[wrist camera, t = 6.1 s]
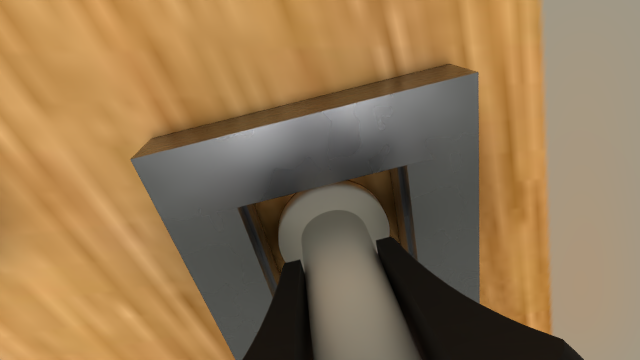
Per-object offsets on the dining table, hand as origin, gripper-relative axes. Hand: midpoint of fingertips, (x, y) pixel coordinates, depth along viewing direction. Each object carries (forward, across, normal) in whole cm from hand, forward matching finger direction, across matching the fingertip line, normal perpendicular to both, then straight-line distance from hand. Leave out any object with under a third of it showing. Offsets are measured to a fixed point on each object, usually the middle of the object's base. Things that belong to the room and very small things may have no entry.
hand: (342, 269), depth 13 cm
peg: (+3, 0, 0) cm, 3 cm away
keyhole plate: (+3, 0, +4) cm, 5 cm away
